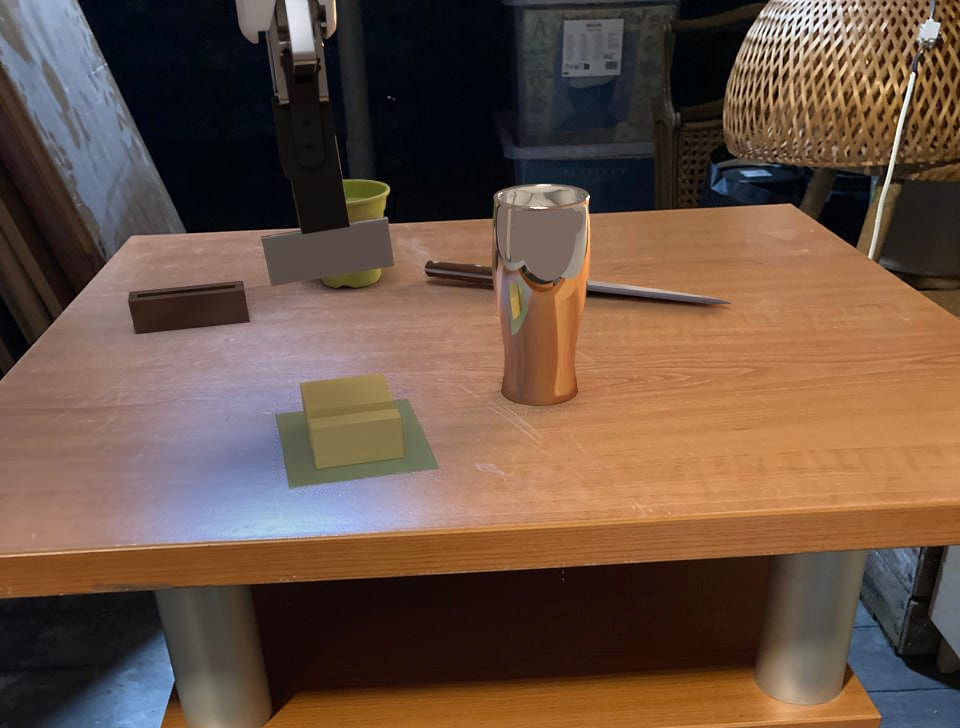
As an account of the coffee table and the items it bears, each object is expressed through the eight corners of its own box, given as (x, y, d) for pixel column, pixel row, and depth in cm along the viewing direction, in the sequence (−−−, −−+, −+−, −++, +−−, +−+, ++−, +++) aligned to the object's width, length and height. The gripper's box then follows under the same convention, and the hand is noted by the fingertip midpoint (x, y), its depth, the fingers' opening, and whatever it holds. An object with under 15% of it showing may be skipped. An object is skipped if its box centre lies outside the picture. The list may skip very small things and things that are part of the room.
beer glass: (536, 376, 81) (538, 178, 72) (603, 400, 77) (613, 192, 68) (475, 403, 77) (469, 196, 68) (542, 429, 73) (544, 213, 64)
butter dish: (291, 501, 65) (289, 488, 65) (277, 426, 75) (275, 413, 74) (440, 481, 67) (439, 467, 66) (408, 410, 76) (407, 397, 76)
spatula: (272, 290, 63) (234, 114, 57) (270, 280, 64) (233, 108, 58) (396, 269, 64) (372, 94, 58) (391, 260, 65) (367, 89, 59)
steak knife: (437, 265, 104) (436, 247, 103) (735, 297, 96) (738, 278, 95) (421, 281, 101) (420, 263, 100) (728, 316, 93) (731, 297, 92)
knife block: (135, 333, 92) (127, 301, 90) (136, 323, 94) (129, 291, 92) (249, 321, 93) (244, 289, 92) (248, 312, 96) (242, 280, 94)
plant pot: (339, 301, 97) (329, 207, 92) (287, 280, 103) (274, 191, 98) (414, 279, 102) (409, 189, 97) (361, 261, 108) (352, 174, 103)
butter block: (311, 451, 69) (306, 410, 67) (305, 421, 73) (299, 382, 71) (397, 440, 70) (393, 399, 68) (386, 411, 74) (382, 372, 72)
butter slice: (316, 469, 67) (310, 428, 65) (314, 459, 68) (308, 418, 66) (404, 458, 68) (401, 416, 66) (400, 448, 69) (397, 407, 67)
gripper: (182, -214, 55) (240, 152, 66) (183, -247, 42) (255, 210, 53) (318, -216, 56) (353, 143, 67) (358, -249, 44) (393, 198, 55)
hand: (309, 171), depth 60 cm, fingers closed on spatula, 1 cm apart
